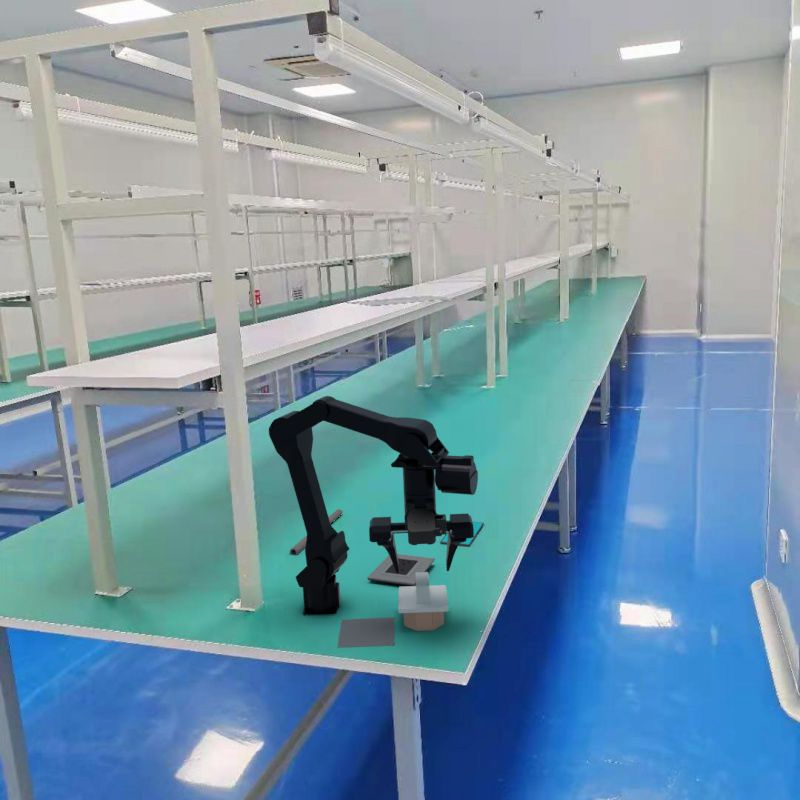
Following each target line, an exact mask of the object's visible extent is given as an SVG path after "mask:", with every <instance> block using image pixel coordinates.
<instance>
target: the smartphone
mask: <svg viewBox="0 0 800 800" xmlns="http://www.w3.org/2000/svg"><path fill="white" fill-rule="evenodd" d="M472 522H473V528H474V537H473V538H466V539H467V540H466V542H462V543H460V544H459V546H458V547H466V548H470V547H471V546H472V545H473V542H474V541H475V539H476V538H477V536H478V535H479V534H480V532H481V531H482V530H483V528H484V526H485V523H484V522H481V521H480V522H479V521H472ZM483 525H484V526H483ZM447 542H448V531H447V534H446V535H444V536H443V537H442V539H441V540H440V541H439V543H440V545H444V546H445V545H446V546H447Z"/></svg>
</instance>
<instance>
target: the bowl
mask: <svg viewBox="0 0 800 800" xmlns="http://www.w3.org/2000/svg"><path fill="white" fill-rule="evenodd" d="M402 615H403V625H404V627H406V628H409V629H411V630H413V631H415V632H421V631H422V632H425V631H434V630H436V629H438V628H439V627H442V626H444V625H445V612H418V613H402Z"/></svg>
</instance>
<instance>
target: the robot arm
mask: <svg viewBox="0 0 800 800" xmlns="http://www.w3.org/2000/svg"><path fill="white" fill-rule="evenodd" d="M322 422H326V423H329V424H333V425H335V426H338V427H341V428H344V429H348V430H350V431H353V432H357V433H360V434H362V435H366V436H369V437H371V438H374V439H377V440H380V441H381V442H383V443H385V444H386V445H387V446H388V447H389V448H390V449H391V450H393V451H396V452H397V453H399V454H398V456H397V458H396V459H395V460H394V461H393V462H391V464H390V466H391V467H392V468H397V469H398V468H399V469H400V468H401V469H402V478H403V482H402V483H403V484H402V485H403V501H404V503H403V504H404V508H403V509H404V517H403V518H404V522H402V521H401V522H392V516H380V517H379V516H377V517H374V516H373V517H372V518H371V519H370V520H369V528H368V533H369V536H368V537H369V542H371V543H376V544H377V546H380V547H383V548H384V549H385V550H386V551H387V554H388V556H389V555H390V558H391V560H392V563H393V565H394V568H395V570H396V572H397V573H399V562H398V556H397V554H398V551H397V545H396V539H395V534H396V535H397V534H407V541H408V544H409V545H410V546H417V545H434V544H435V543H436V541H437V537H442V536H443V535H444V536H445V535H446V534H447V532H448V542H447V545H446V555H445V556H446V557H445V565H446V572H449V571H450V569H451V566H452V563H453V560H454V556H455V554H456V551H457V550H458V547H460V546H459V544H460V543H462V542H466V540H467V539H466V538H473V537H474V528H473V522H474V521H473V519H472V516H471V515H470V514H469V513H450V514H449V519H448V520H447V514H446V513H445V514H443V513H442V514H439V513H437V503H436V502H437V501H436V499H437V498H436V488H437V491H440V492H441V493H443V494H454V495H470V496H474V495H475V494H476V492H477V488H478V483H479V482H478V480H479V471H478V470H477V466H476V465H477V464H476V462H475V460H474V459H475V457H474V456H473V455H469V454H468V455H450V454H449V453H450V451H449V450H448V449H447V447H446V446H445V445H444V444H443V442H442V441H441V439H440V438H439V437H438V434H437V430H436V428H435V426H434V424H433V423H431V421H428V420H426V419H421V418H414V417H395V416H394V417H393V416H389V415H386V414H384V413H379V412H377V411H373V410H370V409H367V408H363V407H361V406H358V405H354V404H351V403H348V402H345V401H343V400H339V399H336V397H333V396H330V395H326V396H322V397H320V398H318V399H316V400H314V401H313V402H312V403H311V404H309V405H308V406H306V407H305V408H303V409H301V410H292V411H290V412H288V413H285V414H284V415H281V416H279V417H277V418H275V419H274V420H272V422H271V423H270V425H269V427H268V436H269V438H270V441H271V443H272V445H273V448H274V449H275V452H276V453H277V454H278V455H279V456H280V457H281V459H283V460H284V462H285V463H286V464H287V465H286V466H287V468H288V472H289V476H290V479H291V482H292V487H293V489H294V493H295V496H296V497H295V498H296V500H297V503H298V506H299V510H300V513H301V517H302V521H303V525H304V528H305V531H306V536H307V539H306V547H305V548H304V554H305V564H306V566H305V567H304V568H303V569H302V570H301V571H300V572H299V573H297V575H296V576H295V579H296V582H297V584H298V587H299V588H302V594H303V611H302V615H303V616H318V615H319V616H321V615H324V616H325V615H326V616H327V615H336V614H337V613H338V609H339V608H340V606H341V591H340V590H341V589H340V588H341V587H340V586H341V585H340V582H338V581H337V575H336V573H338V572H339V571H340V569H341V567H342V566H343V565H344V564H345V563H346V561H347V559H348V556H349V555H348V552H349V550H350V547H349V546H348V543H347V542H346V534H345V532H344V530H340V531H339V532H337V530H336V529H335V528H334V527H333V526H332V524H330V521H329V514H328V511H327V507H326V504H325V500H324V497H323V494H322V489H321V486H320V482H319V479H318V475H317V472H316V471H317V470H316V468H315V463H314V461H313V458H312V457H313V456H312V452H313V451H312V450H313V444H314V435H313V427H315V426H317V425H318V424H320V423H322Z"/></svg>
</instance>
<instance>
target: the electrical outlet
mask: <svg viewBox="0 0 800 800" xmlns="http://www.w3.org/2000/svg"><path fill="white" fill-rule="evenodd" d="M397 556H398V562H399V573H397V572H396V570H395V568H394V565H393V563H392V560H391V558H390V555H389V554H388V556H386V558H385V559H383V561H382V562H380V564H379V565H378V566H377V567H376V568H375V569H374V570H373V571H372V572H371V573H369V575H368V576H367V577H366V579H367V580H368V581H371V582H377V583H385V584H392V585H398V586H416V572H427V570H428V569H429V568H430V567H431V566H432V564H433V563H434V562H435V560H436V558H434V557H425V556H417V555H411V554H410V555H408V554H402V553H397Z"/></svg>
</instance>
